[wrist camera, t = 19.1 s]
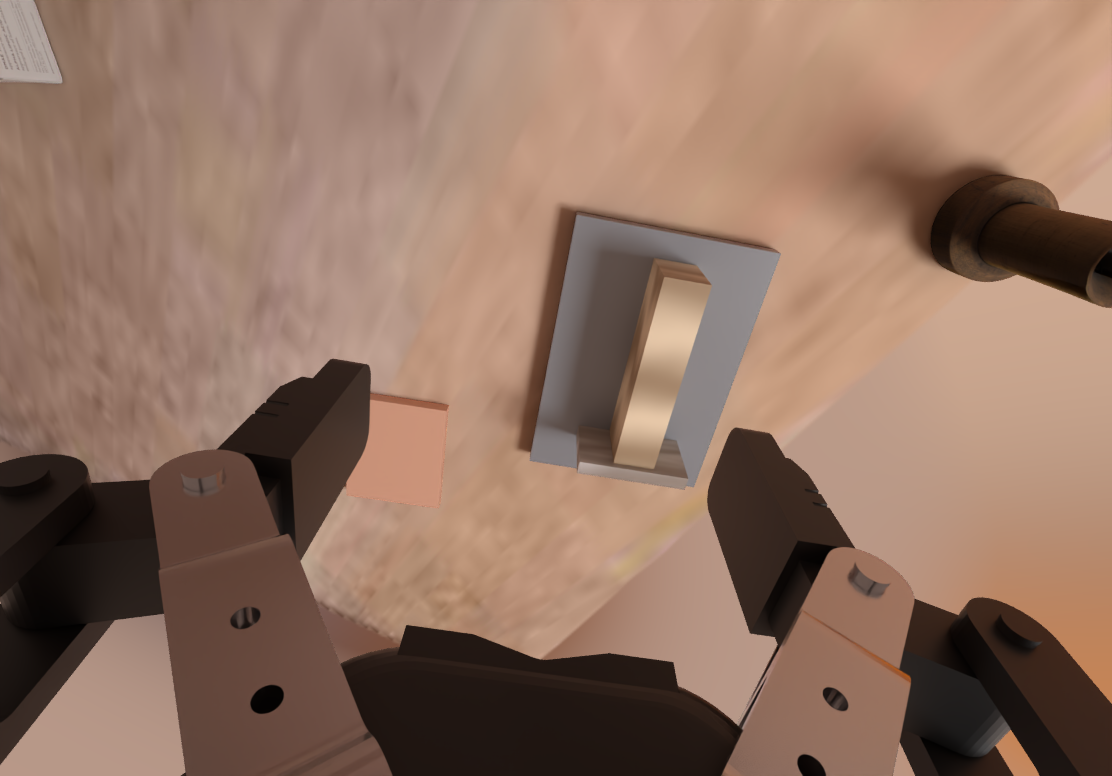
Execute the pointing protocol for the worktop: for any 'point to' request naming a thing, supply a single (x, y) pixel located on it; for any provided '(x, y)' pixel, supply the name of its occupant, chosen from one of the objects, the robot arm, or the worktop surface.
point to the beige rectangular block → (650, 384)
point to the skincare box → (25, 45)
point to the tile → (402, 452)
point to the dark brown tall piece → (1023, 238)
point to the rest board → (610, 322)
